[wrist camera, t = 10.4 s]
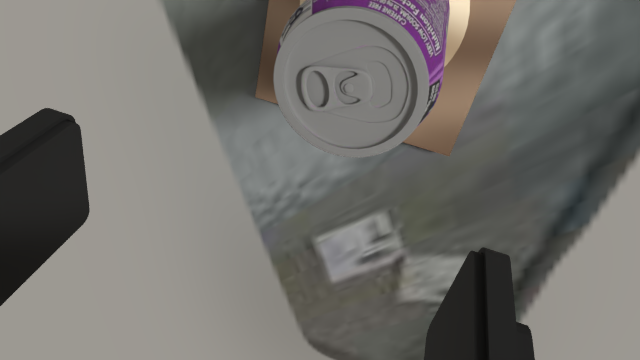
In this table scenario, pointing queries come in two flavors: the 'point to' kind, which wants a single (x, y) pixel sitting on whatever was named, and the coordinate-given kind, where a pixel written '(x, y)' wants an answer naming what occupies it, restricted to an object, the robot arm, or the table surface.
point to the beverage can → (360, 71)
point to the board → (459, 68)
